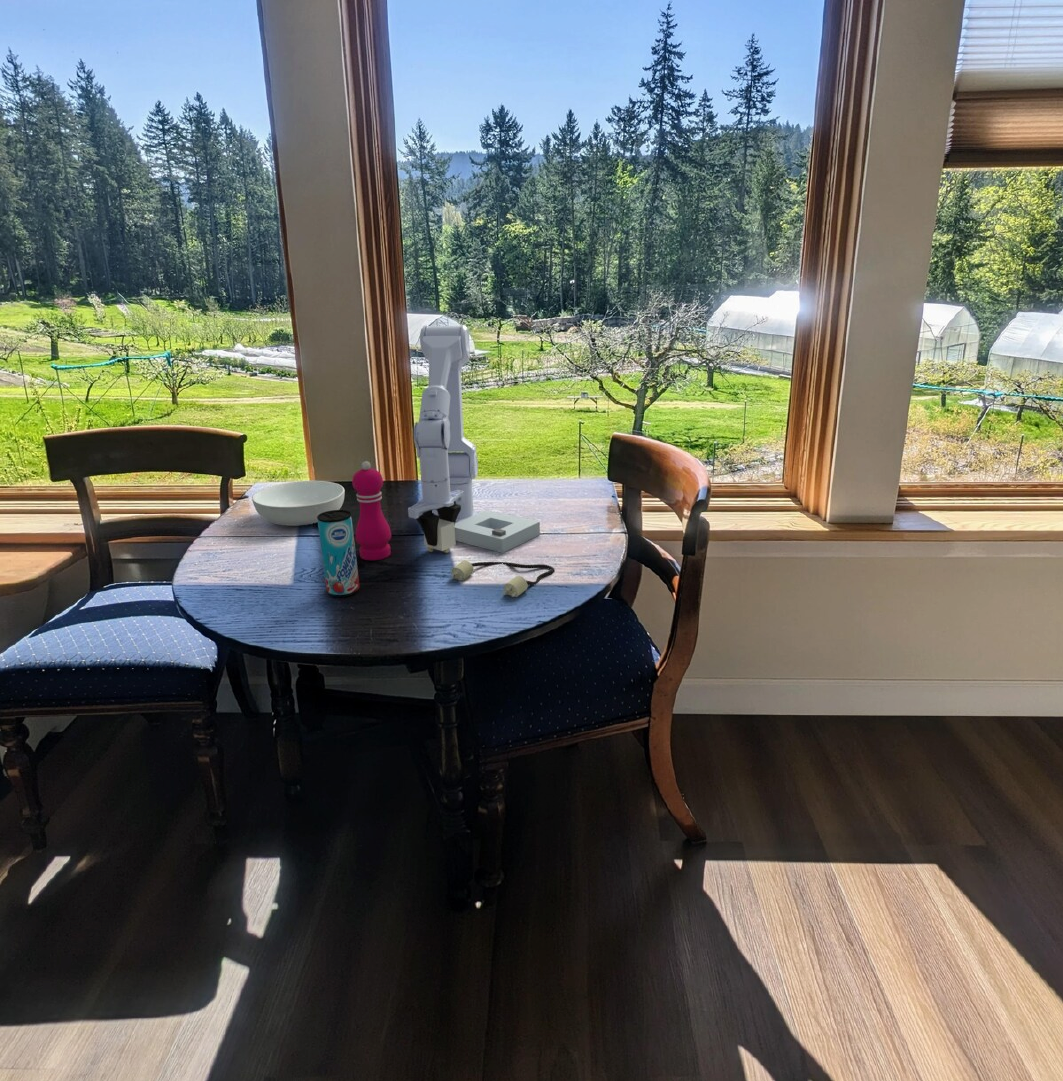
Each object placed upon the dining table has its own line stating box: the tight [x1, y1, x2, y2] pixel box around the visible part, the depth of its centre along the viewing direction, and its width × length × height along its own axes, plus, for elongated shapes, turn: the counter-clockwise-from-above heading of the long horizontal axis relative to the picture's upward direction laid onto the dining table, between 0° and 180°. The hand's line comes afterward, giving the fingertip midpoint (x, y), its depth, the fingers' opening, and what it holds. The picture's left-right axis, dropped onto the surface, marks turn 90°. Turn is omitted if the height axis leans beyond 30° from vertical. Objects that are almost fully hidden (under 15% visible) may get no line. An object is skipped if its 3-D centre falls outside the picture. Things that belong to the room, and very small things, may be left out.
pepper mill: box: [352, 460, 392, 561], centre depth 153 cm, size 7×7×20 cm
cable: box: [450, 560, 555, 598], centre depth 144 cm, size 16×16×4 cm
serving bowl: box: [251, 480, 346, 527], centre depth 178 cm, size 21×21×7 cm
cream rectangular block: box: [423, 519, 456, 554], centre depth 156 cm, size 5×4×6 cm
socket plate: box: [454, 509, 541, 554], centre depth 164 cm, size 15×13×4 cm
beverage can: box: [317, 509, 360, 598], centre depth 137 cm, size 6×6×15 cm
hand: (439, 541), depth 157 cm, fingers closed on cream rectangular block, 4 cm apart
